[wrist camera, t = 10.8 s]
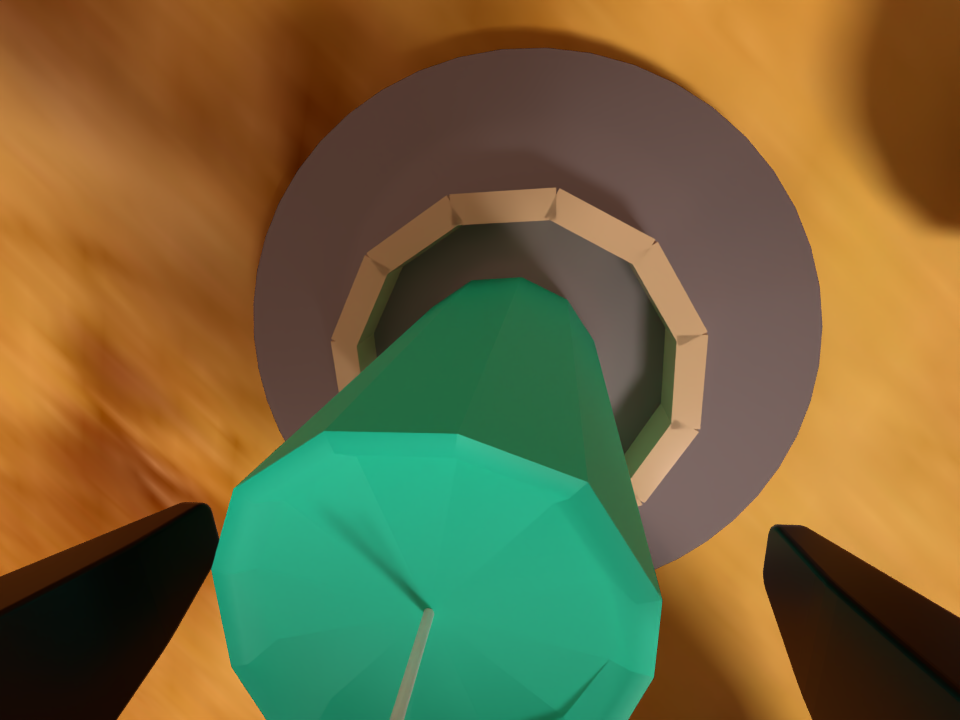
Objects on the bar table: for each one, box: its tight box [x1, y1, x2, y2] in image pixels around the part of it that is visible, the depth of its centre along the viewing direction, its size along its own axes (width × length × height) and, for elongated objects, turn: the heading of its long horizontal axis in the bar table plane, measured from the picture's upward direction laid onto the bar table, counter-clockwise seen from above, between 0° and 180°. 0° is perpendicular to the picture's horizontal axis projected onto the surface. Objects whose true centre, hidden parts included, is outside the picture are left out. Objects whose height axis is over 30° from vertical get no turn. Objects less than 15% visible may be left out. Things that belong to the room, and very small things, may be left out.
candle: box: [211, 277, 662, 720], centre depth 10 cm, size 6×6×12 cm
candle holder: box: [254, 48, 822, 569], centre depth 16 cm, size 18×18×2 cm
